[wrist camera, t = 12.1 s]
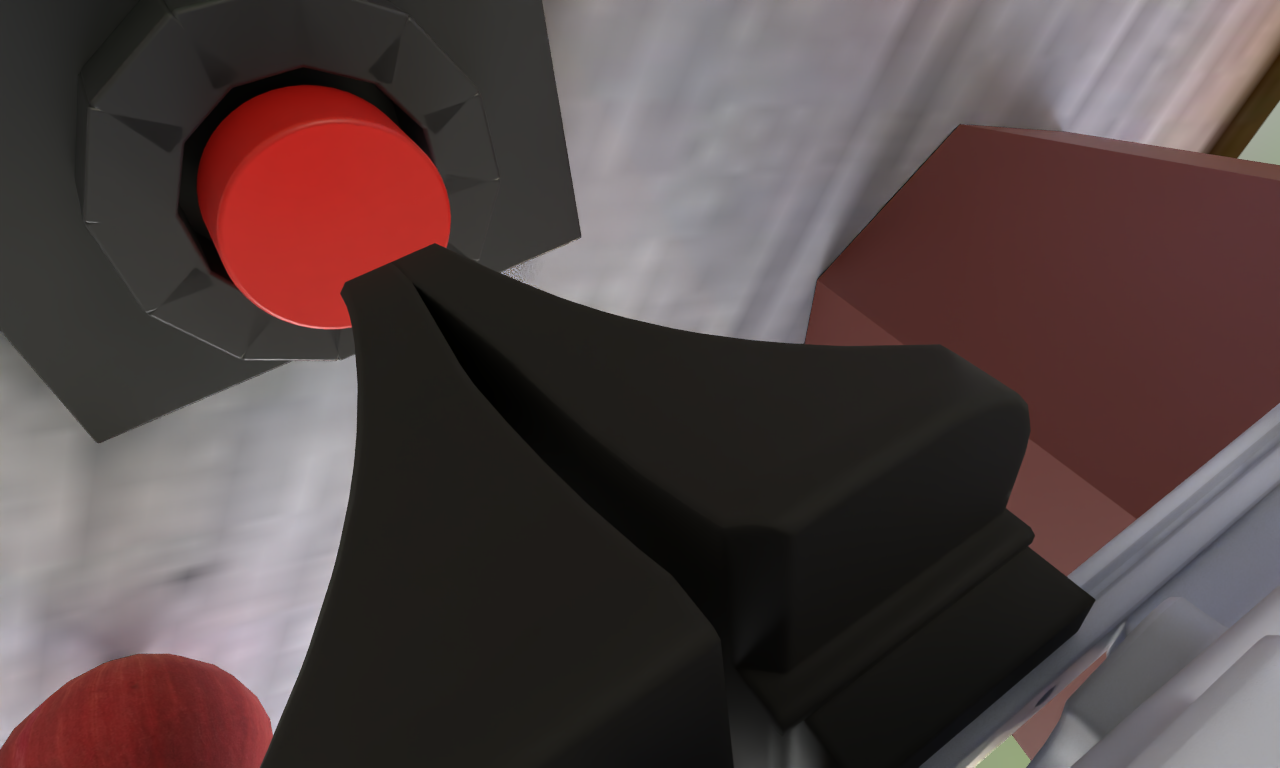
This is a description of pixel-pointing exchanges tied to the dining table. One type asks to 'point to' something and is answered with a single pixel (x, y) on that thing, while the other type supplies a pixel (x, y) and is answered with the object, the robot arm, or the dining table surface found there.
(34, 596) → the dining table surface
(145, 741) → the onion
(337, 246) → the button
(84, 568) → the dining table surface
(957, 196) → the bucket
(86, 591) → the dining table surface
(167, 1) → the button housing
